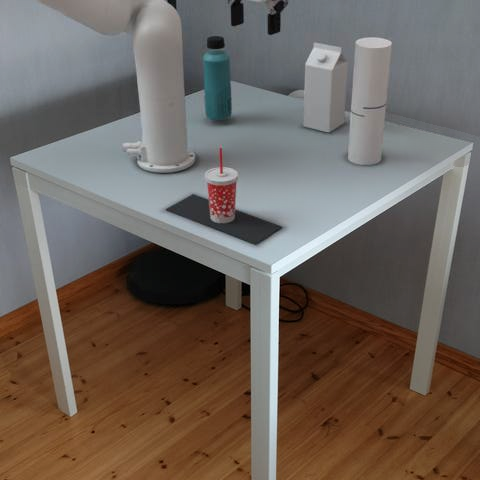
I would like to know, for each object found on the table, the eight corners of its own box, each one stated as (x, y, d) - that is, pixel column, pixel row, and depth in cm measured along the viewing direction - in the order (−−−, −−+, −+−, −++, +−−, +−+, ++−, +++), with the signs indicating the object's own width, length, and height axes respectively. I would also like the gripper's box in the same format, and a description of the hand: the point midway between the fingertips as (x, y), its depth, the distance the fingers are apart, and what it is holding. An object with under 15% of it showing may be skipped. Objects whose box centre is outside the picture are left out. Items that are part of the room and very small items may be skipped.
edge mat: (165, 210, 154) (165, 208, 154) (193, 195, 159) (193, 193, 159) (255, 245, 142) (255, 243, 142) (282, 227, 147) (282, 226, 147)
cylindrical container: (379, 166, 169) (390, 48, 155) (346, 163, 170) (354, 47, 156) (381, 152, 175) (392, 38, 161) (349, 150, 176) (357, 36, 162)
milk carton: (318, 117, 193) (322, 38, 182) (344, 123, 189) (349, 43, 179) (303, 127, 188) (305, 46, 177) (329, 133, 184) (333, 51, 174)
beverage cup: (241, 223, 148) (240, 154, 140) (208, 226, 147) (205, 156, 140) (236, 208, 153) (234, 140, 145) (204, 211, 152) (201, 143, 145)
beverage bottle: (232, 125, 189) (230, 41, 178) (204, 126, 189) (200, 41, 178) (232, 115, 194) (230, 33, 183) (205, 115, 195) (202, 33, 184)
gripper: (207, -66, 151) (211, 25, 161) (276, -56, 142) (276, 41, 151) (234, -71, 156) (236, 18, 165) (303, -62, 146) (301, 32, 156)
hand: (255, 29), depth 158 cm, fingers open, 9 cm apart
